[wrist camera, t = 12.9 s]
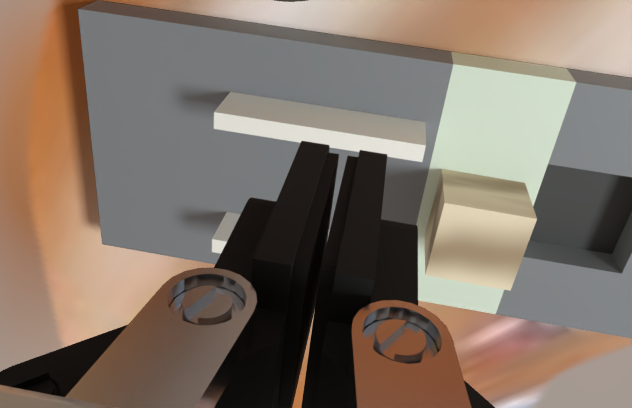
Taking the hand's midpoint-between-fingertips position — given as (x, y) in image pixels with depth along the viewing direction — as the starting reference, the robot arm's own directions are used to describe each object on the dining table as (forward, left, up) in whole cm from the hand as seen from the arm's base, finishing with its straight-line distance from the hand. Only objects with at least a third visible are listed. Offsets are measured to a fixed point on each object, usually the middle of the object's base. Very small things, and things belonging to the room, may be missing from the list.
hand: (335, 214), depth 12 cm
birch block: (+16, +9, -29) cm, 34 cm away
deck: (+15, +2, -32) cm, 35 cm away
